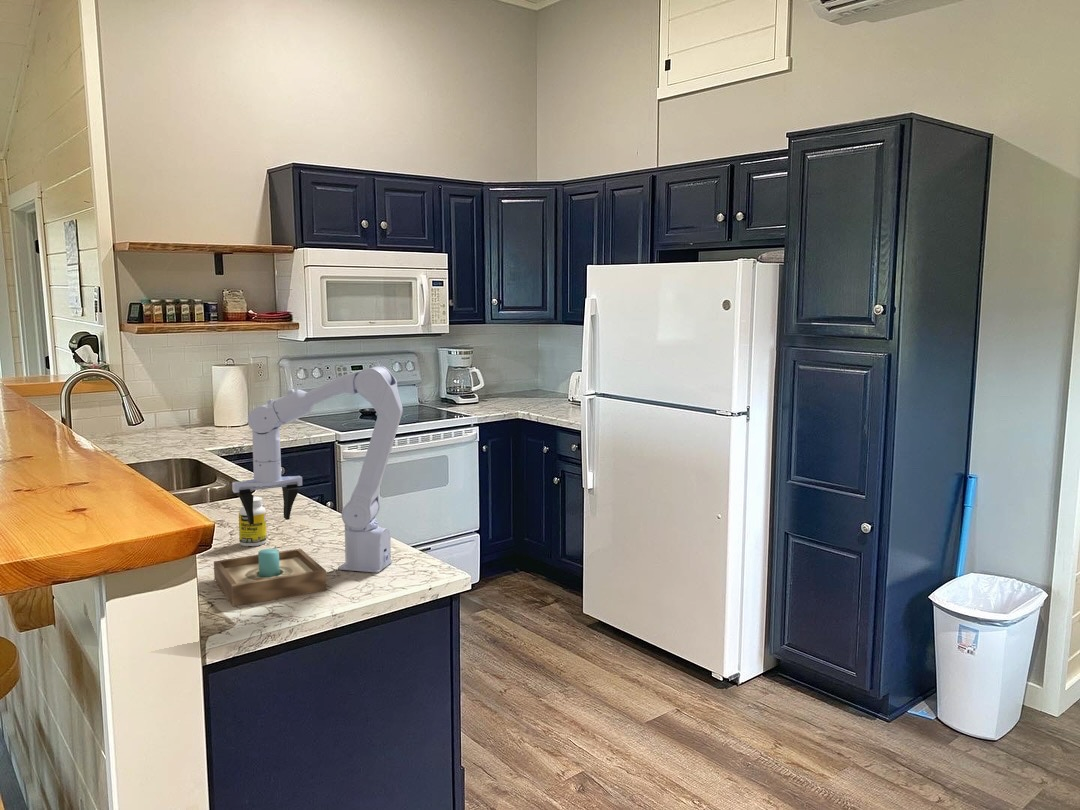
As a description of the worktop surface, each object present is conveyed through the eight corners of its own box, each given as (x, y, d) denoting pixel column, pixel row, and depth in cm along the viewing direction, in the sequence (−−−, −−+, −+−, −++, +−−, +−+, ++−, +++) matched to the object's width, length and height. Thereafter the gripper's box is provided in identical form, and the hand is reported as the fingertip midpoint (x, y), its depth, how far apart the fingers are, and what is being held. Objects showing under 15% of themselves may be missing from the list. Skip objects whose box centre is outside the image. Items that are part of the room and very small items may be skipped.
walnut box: (301, 566, 181) (300, 548, 180) (326, 589, 165) (326, 570, 165) (214, 580, 171) (213, 561, 171) (233, 606, 156) (232, 586, 155)
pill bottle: (238, 548, 194) (236, 502, 193) (240, 541, 200) (239, 496, 199) (266, 546, 196) (264, 500, 194) (267, 539, 202) (266, 495, 200)
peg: (283, 582, 170) (282, 549, 169) (272, 588, 166) (271, 555, 165) (266, 580, 171) (265, 548, 170) (255, 587, 167) (254, 553, 166)
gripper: (295, 454, 186) (297, 512, 187) (228, 460, 178) (230, 521, 180) (304, 459, 180) (306, 519, 181) (235, 465, 172) (237, 528, 174)
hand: (269, 521), depth 180 cm, fingers open, 7 cm apart
